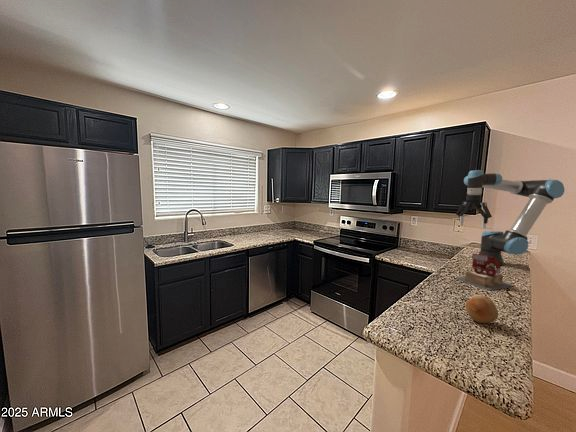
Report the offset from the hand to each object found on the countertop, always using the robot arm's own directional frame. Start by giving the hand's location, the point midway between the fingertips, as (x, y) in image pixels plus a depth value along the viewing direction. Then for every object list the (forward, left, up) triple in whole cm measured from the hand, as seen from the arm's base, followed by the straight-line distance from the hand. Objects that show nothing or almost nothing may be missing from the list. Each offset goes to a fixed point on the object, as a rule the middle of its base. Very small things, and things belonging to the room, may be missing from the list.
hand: (471, 227), depth 158 cm
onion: (+65, +49, -28) cm, 86 cm away
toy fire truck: (+20, +22, -22) cm, 37 cm away
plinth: (+20, +22, -28) cm, 41 cm away
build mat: (+18, +21, -28) cm, 39 cm away
